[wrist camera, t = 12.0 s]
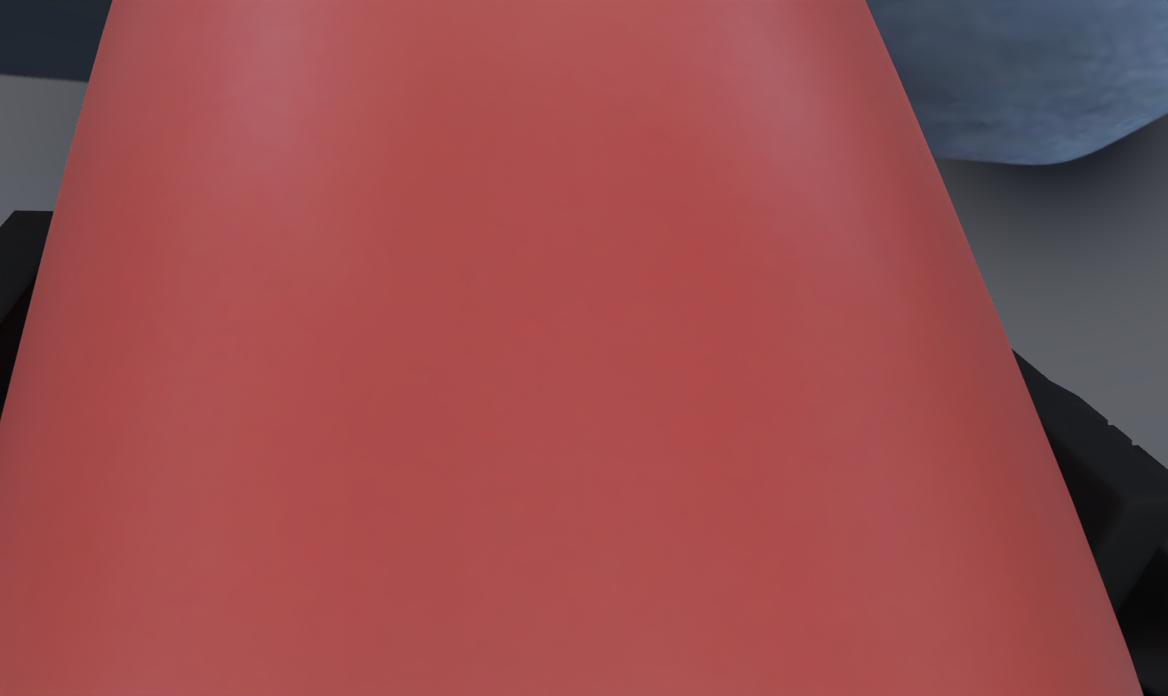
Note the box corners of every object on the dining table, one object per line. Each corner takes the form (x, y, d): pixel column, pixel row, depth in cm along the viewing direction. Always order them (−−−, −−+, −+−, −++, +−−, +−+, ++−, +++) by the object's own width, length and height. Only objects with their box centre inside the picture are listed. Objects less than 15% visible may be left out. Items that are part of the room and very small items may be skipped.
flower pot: (985, -5, 13) (1120, 657, 11) (427, 180, 18) (443, 660, 16) (806, -1147, 4) (1380, 1367, 2) (-210, -148, 9) (-372, 858, 7)
